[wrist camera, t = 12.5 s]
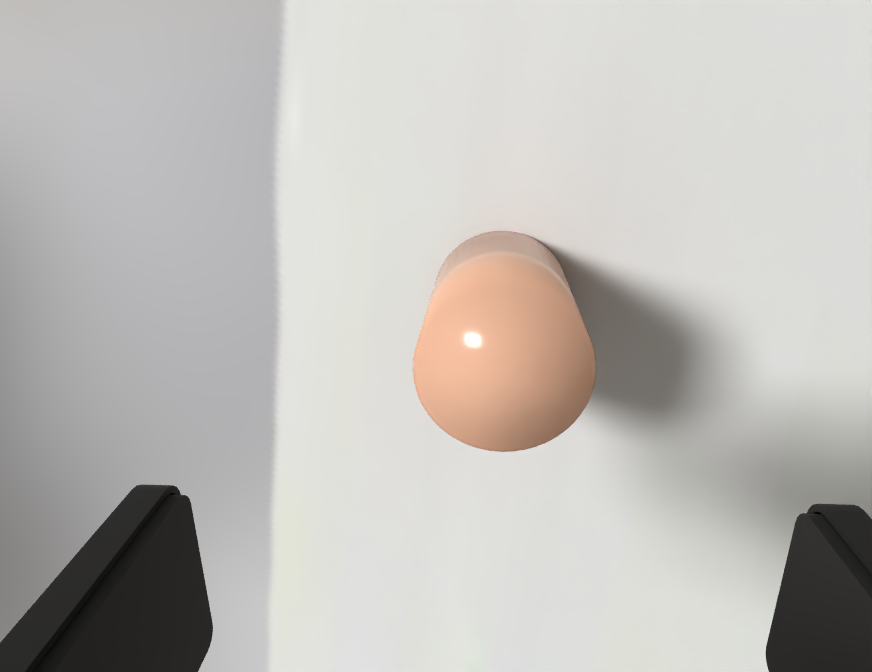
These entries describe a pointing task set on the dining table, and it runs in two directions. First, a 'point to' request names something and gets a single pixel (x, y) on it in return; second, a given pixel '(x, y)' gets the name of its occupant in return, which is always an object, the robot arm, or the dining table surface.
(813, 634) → the robot arm
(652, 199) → the dining table surface
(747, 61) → the dining table surface
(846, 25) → the dining table surface
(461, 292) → the terracotta cylinder
